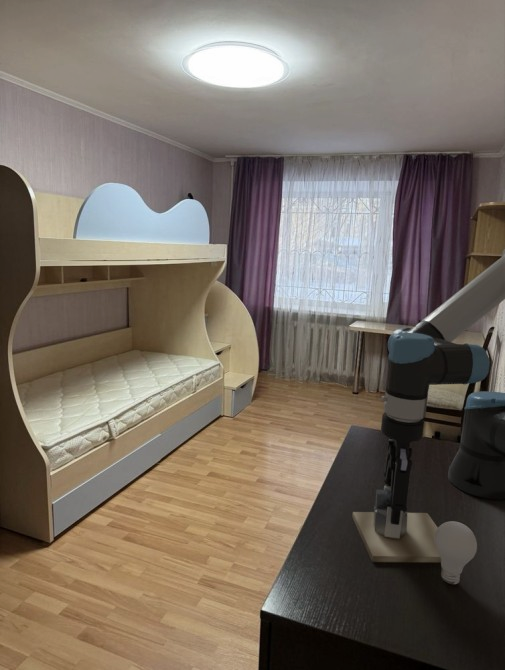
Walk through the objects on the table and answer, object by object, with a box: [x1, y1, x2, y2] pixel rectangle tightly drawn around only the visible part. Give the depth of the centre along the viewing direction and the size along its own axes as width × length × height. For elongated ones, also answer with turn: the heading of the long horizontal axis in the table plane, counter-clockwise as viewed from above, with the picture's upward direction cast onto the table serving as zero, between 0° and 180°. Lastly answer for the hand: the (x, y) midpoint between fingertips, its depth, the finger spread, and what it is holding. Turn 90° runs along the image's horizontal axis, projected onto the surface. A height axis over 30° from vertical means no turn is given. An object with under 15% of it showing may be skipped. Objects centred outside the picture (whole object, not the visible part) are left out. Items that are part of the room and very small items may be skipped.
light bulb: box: [434, 520, 478, 585], centre depth 80 cm, size 7×7×11 cm
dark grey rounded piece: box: [373, 489, 408, 538], centre depth 92 cm, size 6×6×8 cm
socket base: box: [351, 511, 441, 563], centre depth 92 cm, size 16×14×4 cm
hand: (389, 525), depth 93 cm, fingers closed on dark grey rounded piece, 6 cm apart
